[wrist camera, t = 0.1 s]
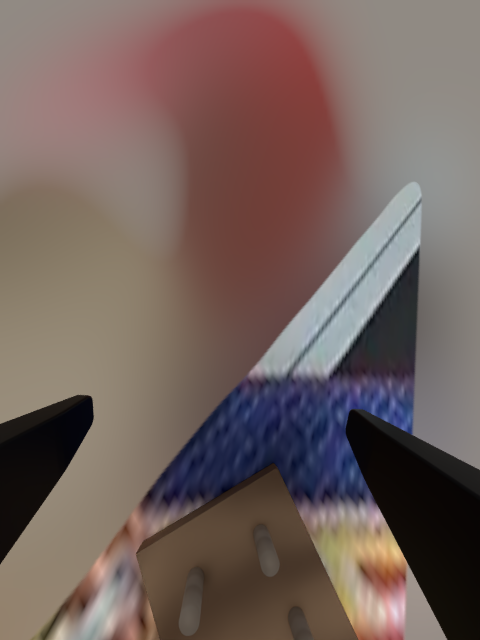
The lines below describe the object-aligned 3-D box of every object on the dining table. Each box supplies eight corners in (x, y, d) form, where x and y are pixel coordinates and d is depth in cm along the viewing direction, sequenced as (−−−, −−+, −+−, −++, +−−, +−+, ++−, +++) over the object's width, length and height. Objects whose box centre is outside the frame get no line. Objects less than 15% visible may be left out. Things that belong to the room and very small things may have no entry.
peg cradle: (348, 623, 18) (395, 705, 13) (202, 747, 15) (193, 904, 10) (273, 462, 21) (288, 481, 16) (142, 542, 18) (115, 591, 14)
